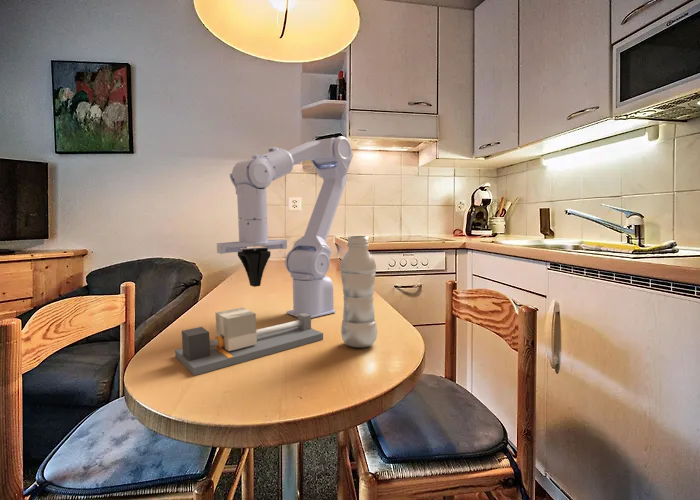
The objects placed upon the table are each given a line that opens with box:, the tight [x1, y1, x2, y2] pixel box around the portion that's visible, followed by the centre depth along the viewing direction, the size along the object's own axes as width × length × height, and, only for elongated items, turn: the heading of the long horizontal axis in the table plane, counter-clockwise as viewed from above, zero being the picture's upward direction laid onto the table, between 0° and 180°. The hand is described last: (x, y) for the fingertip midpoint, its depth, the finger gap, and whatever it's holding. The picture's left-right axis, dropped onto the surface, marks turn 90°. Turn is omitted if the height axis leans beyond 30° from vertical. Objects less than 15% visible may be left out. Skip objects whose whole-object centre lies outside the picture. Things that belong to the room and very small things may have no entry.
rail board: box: [174, 313, 324, 377], centre depth 66 cm, size 24×10×5 cm, turn 130°
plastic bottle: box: [339, 235, 378, 348], centre depth 66 cm, size 6×7×20 cm
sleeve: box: [215, 307, 257, 351], centre depth 64 cm, size 5×5×6 cm
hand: (255, 285), depth 75 cm, fingers closed
